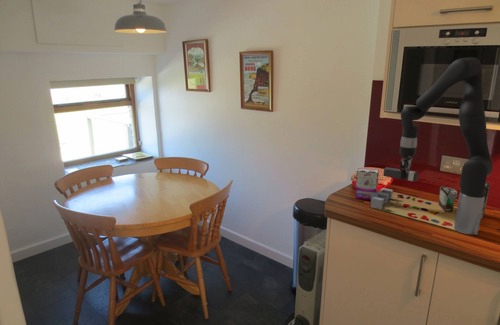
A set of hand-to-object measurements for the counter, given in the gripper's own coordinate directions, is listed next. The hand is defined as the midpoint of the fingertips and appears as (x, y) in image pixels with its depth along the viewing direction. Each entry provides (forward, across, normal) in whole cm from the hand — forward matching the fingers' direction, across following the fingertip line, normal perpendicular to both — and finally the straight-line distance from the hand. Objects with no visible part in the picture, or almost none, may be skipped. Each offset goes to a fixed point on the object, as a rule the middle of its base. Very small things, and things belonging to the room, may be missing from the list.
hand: (404, 177), depth 175 cm
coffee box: (+15, +8, -33) cm, 37 cm away
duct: (+15, -4, +10) cm, 18 cm away
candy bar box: (+15, -3, +18) cm, 24 cm away
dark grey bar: (+1, 0, +2) cm, 2 cm away
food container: (+15, +8, -21) cm, 27 cm away
